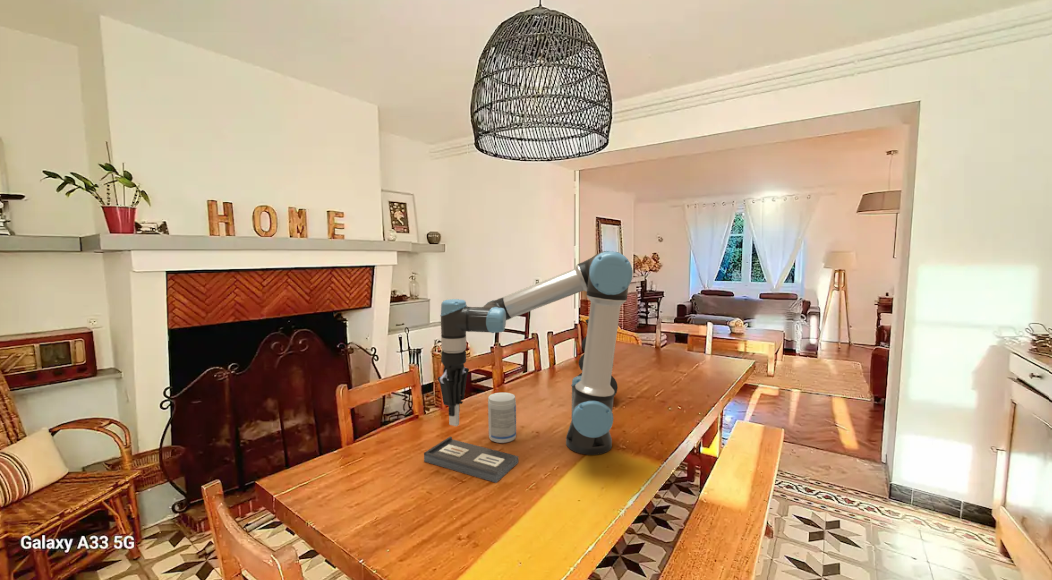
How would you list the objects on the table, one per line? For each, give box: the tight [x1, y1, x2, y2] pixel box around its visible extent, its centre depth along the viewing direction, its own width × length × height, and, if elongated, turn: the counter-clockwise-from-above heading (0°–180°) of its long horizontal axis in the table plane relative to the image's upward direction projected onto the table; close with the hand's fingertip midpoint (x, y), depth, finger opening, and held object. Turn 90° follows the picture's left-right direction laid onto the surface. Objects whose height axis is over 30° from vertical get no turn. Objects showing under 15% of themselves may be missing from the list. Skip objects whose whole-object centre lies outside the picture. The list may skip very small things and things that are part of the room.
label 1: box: [439, 444, 469, 457], centre depth 136 cm, size 8×5×1 cm, turn 62°
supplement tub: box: [487, 391, 517, 444], centre depth 150 cm, size 10×10×15 cm
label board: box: [423, 436, 519, 484], centre depth 134 cm, size 26×13×3 cm, turn 62°
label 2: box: [473, 453, 505, 467], centre depth 130 cm, size 8×5×1 cm, turn 62°
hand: (454, 424), depth 135 cm, fingers closed
